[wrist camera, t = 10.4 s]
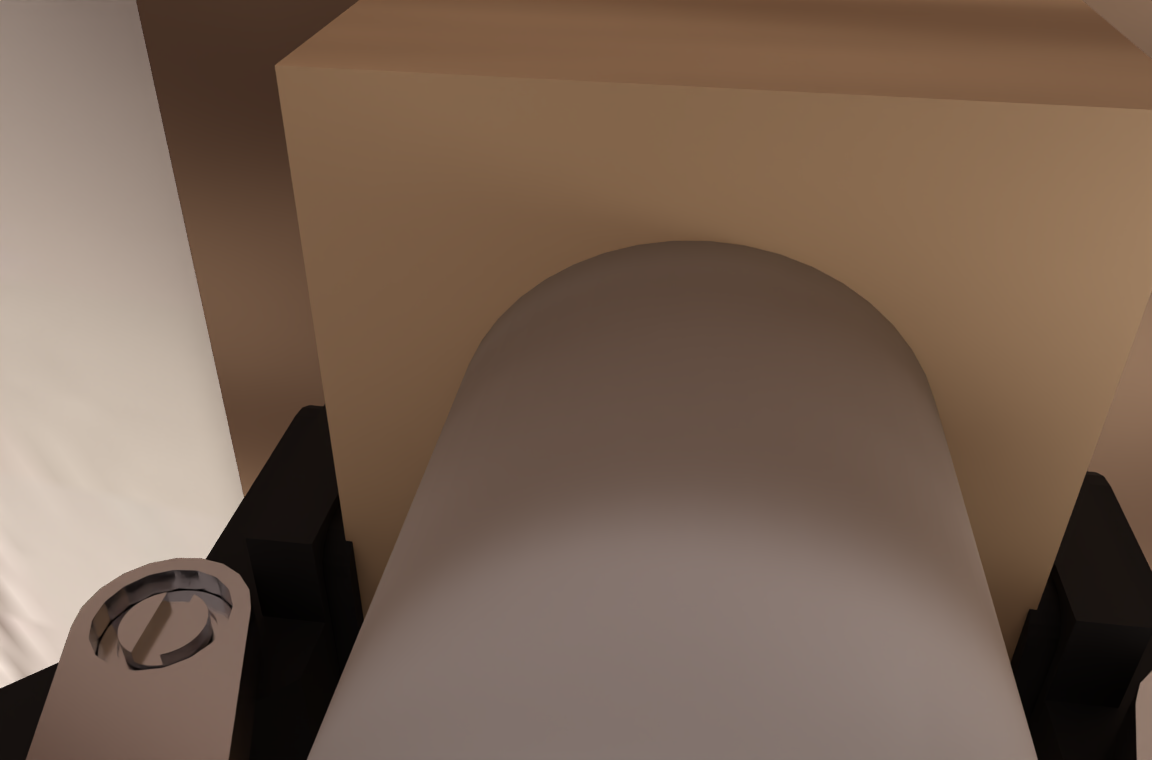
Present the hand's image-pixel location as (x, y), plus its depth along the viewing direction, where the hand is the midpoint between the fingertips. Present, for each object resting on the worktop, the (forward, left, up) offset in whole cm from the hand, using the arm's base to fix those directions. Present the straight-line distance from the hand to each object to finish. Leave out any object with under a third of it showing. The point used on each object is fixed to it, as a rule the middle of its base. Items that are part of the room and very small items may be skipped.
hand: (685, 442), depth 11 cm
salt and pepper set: (0, 0, -2) cm, 2 cm away
